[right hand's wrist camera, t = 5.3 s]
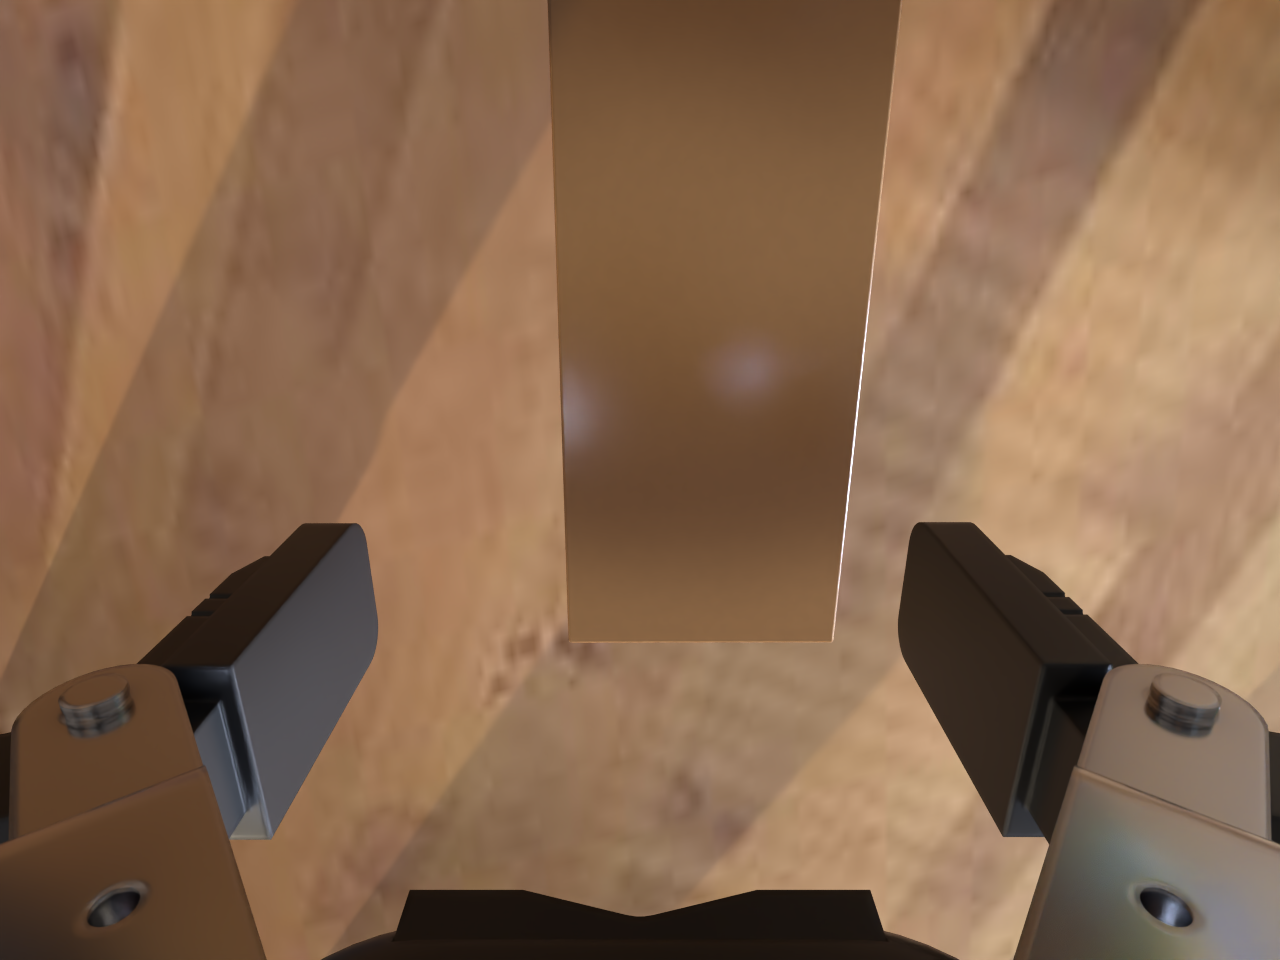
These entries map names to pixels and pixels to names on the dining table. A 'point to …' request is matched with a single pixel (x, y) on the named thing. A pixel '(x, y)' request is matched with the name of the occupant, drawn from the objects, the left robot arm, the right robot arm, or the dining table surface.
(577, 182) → the bar
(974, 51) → the dining table surface
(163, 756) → the right robot arm
